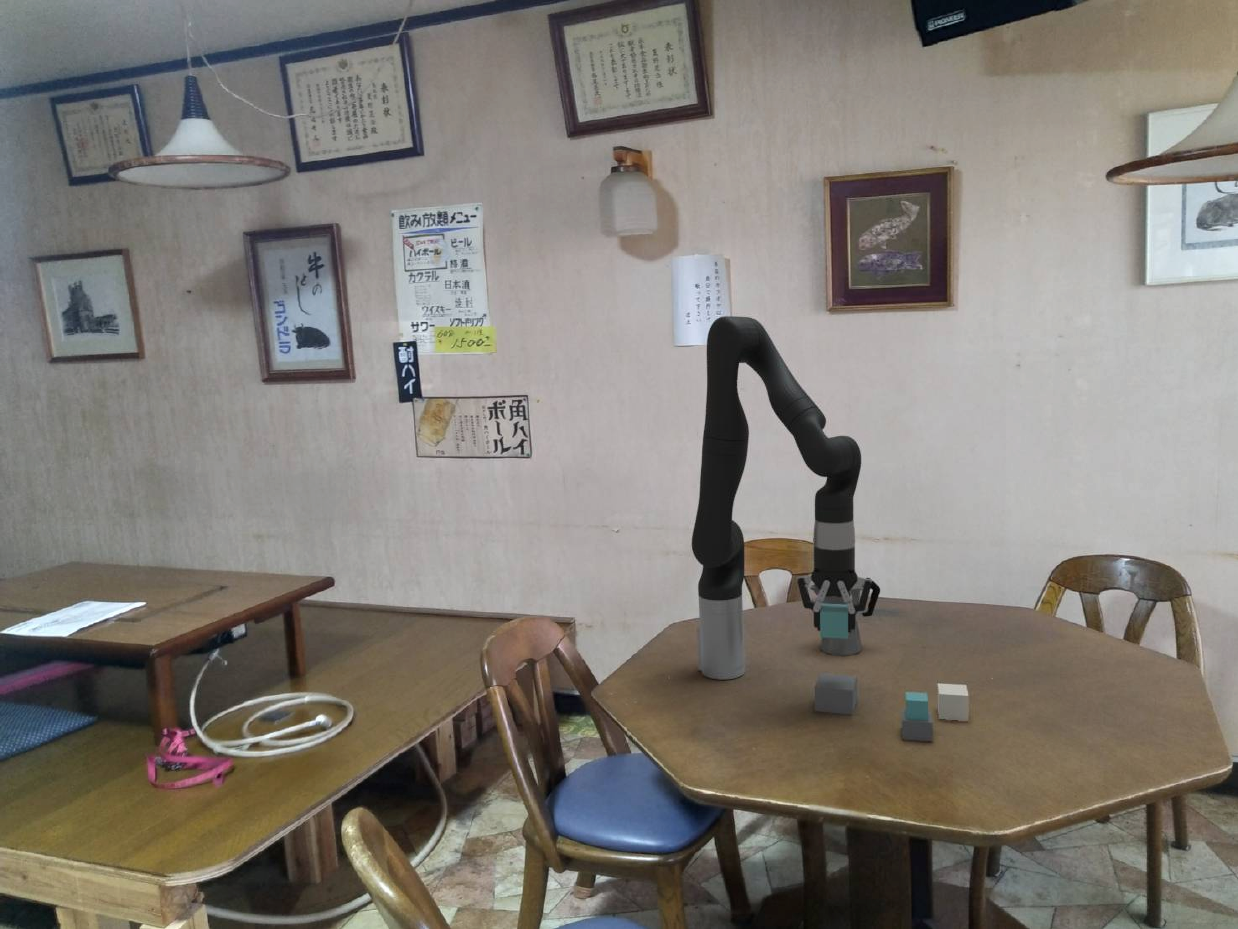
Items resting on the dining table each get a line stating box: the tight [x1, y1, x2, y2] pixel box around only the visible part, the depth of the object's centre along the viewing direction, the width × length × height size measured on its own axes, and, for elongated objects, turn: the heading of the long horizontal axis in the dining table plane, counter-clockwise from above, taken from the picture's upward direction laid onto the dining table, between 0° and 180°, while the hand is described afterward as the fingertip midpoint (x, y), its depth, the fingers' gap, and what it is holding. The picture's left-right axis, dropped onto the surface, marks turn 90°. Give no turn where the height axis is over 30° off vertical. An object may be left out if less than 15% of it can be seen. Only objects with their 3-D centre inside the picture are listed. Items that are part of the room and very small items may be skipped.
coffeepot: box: [809, 580, 881, 657], centre depth 198 cm, size 15×9×18 cm, turn 87°
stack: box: [901, 691, 934, 742], centre depth 155 cm, size 5×5×7 cm
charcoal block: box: [814, 672, 858, 716], centre depth 169 cm, size 7×7×5 cm
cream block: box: [937, 683, 970, 722], centre depth 163 cm, size 5×5×5 cm
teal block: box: [819, 604, 848, 639], centre depth 167 cm, size 5×5×5 cm
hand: (834, 630), depth 168 cm, fingers closed on teal block, 5 cm apart
